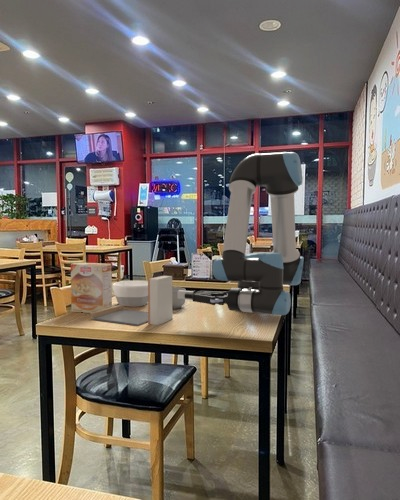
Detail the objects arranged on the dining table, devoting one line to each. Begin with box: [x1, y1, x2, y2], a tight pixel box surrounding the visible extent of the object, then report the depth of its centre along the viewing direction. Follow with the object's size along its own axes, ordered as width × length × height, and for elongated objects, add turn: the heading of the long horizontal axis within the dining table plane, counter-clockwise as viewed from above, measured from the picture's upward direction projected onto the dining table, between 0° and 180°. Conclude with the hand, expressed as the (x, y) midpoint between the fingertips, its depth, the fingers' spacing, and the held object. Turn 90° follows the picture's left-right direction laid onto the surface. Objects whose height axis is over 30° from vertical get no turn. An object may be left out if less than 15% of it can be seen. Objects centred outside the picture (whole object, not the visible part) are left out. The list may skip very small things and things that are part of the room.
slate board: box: [90, 304, 148, 327], centre depth 151 cm, size 21×18×2 cm
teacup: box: [172, 286, 187, 310], centre depth 169 cm, size 14×11×8 cm
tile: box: [147, 275, 173, 326], centre depth 144 cm, size 4×10×16 cm, turn 154°
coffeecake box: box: [70, 262, 113, 314], centre depth 161 cm, size 15×7×20 cm, turn 70°
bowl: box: [112, 280, 148, 308], centre depth 176 cm, size 18×18×9 cm
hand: (178, 294), depth 140 cm, fingers closed
